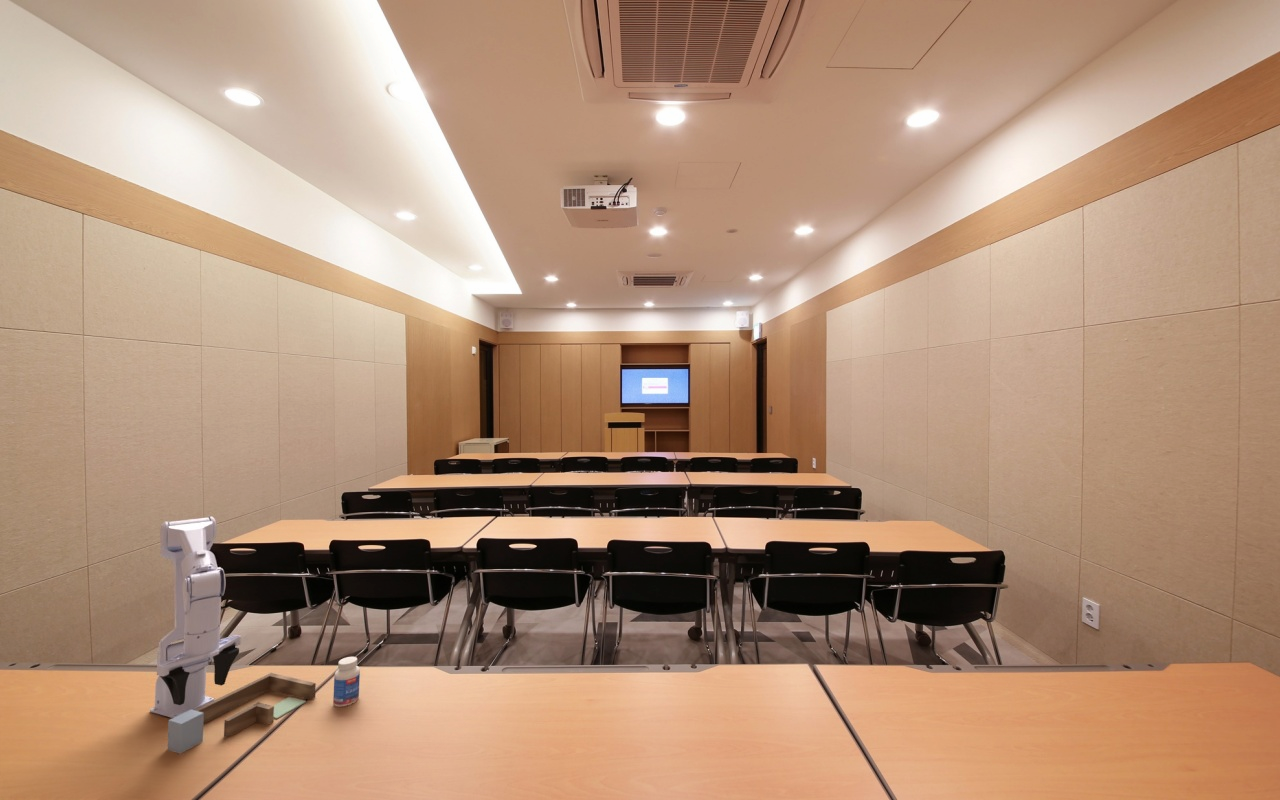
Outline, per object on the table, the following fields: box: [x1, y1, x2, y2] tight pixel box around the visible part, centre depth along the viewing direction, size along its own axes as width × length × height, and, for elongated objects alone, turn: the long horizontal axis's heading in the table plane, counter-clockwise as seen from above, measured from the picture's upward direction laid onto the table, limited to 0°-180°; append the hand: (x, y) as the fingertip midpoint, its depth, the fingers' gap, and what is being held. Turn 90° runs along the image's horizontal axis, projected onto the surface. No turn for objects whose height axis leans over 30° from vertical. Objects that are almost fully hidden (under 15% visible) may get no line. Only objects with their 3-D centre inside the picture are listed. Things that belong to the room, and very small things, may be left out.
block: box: [167, 709, 204, 754], centre depth 104 cm, size 4×4×6 cm
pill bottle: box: [332, 656, 361, 708], centre depth 120 cm, size 6×5×10 cm
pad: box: [273, 696, 307, 720], centre depth 117 cm, size 6×7×1 cm
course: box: [195, 672, 317, 738], centre depth 116 cm, size 15×17×4 cm
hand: (199, 693), depth 105 cm, fingers open, 7 cm apart
